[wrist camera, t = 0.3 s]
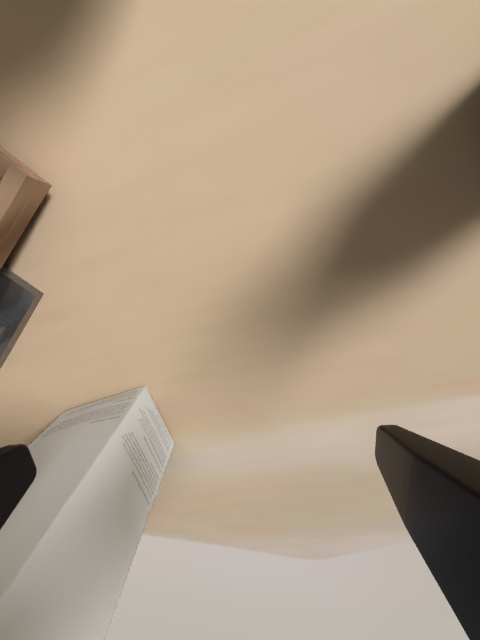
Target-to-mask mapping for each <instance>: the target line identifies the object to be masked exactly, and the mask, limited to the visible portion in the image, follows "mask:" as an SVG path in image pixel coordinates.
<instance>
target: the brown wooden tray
mask: <svg viewBox="0 0 480 640" xmlns="http://www.w3.org/2000/svg"><path fill="white" fill-rule="evenodd" d="M51 186H52V185H50V184H49V183H48V182H46V181H45V180H44V179H42V178H41V177H40V176H38V175H37V174H36V173H34V172H33V171H32V170H31V169H29V168H28V167H27V166H25V165H24V164H23V163H21V162H20V161H19V160H17V159H16V158H15V157H13V156H12V155H11V154H9V153H8V152H7V151H6V150H4V149H3V148H2V147H0V269H1V267H2V266H3V264H4V262H5V261H6V259H7V258H8V256H9V254H10V253H11V251H12V249H13V248H14V246H15V244H16V243H17V241H18V240H19V238H20V236H21V235H22V233H23V231H24V230H25V228H26V226H27V225H28V223H29V222H30V220H31V218H32V217H33V215H34V213H35V212H36V210H37V208H38V207H39V205H40V204H41V202H42V200H43V199H44V197H45V195H46V194H47V192H48V191H49V189H50V187H51Z"/></svg>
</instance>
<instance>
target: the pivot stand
mask: <svg viewBox="0 0 480 640" xmlns="http://www.w3.org/2000/svg"><path fill="white" fill-rule="evenodd" d="M42 295H43V293H42V292H40V291H39V290H37V289H36V288H34V287H33V286H32V285H30V284H29V283H27V282H26V281H24V280H23V279H21V278H20V277H18V276H17V275H16V274H14V273H13V272H11V271H10V270H8V269H7V268H5V267H4V266H2V267H1V269H0V368H1V367H2V365H3V363H4V361H5V360H6V358H7V356H8V354H9V353H10V351H11V349H12V347H13V346H14V344H15V342H16V340H17V339H18V337H19V335H20V333H21V332H22V330H23V328H24V326H25V325H26V323H27V321H28V320H29V318H30V316H31V314H32V313H33V311H34V309H35V307H36V306H37V304H38V302H39V300H40V299H41V297H42Z"/></svg>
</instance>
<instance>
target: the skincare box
mask: <svg viewBox="0 0 480 640" xmlns="http://www.w3.org/2000/svg"><path fill="white" fill-rule="evenodd" d="M173 446H174V441H173V439H172V437H171V435H170V433H169V431H168V429H167V427H166V425H165V423H164V421H163V419H162V417H161V415H160V413H159V411H158V409H157V407H156V405H155V403H154V401H153V399H152V397H151V395H150V393H149V391H148V388H147V387H146V386H143V387H140V388H136V389H133V390H130V391H127V392H123V393H120V394H117V395H114V396H110V397H107V398H104V399H101V400H97V401H94V402H91V403H88V404H85V405H81V406H78V407H75V408H72V409H69V410H66V411H64V412H63V413H62V414H61V415H60V416H59V417H58V418H57V419H56V420H55V421H54V422H53V423H52V424H51V425H50V426H49V427H48V428H47V429H45V430H44V431H43V432H42V433H41V434H40V435H39V436H38V437H37V438H36V439H35V440H34V441H33V442H32V443H31V444H30V445H29V446H28V448H29V450H30V453H31V455H32V458H33V460H34V463H35V465H36V468H37V473H36V477H35V479H34V481H33V483H32V484H31V486H30V487H29V489H28V490H27V492H26V493H25V495H24V496H23V497H22V499H21V500H20V502H19V503H18V505H17V506H16V508H15V509H14V511H13V512H12V514H11V515H10V517H9V518H8V520H7V521H6V523H5V524H4V526H3V527H2V528H1V530H0V640H105V637H106V634H107V631H108V629H109V626H110V623H111V620H112V617H113V614H114V612H115V609H116V606H117V603H118V600H119V598H120V595H121V592H122V589H123V586H124V583H125V581H126V578H127V575H128V572H129V569H130V566H131V564H132V561H133V558H134V555H135V553H136V550H137V547H138V544H139V541H140V539H141V536H142V533H143V530H144V527H145V524H146V522H147V519H148V516H149V513H150V510H151V508H152V505H153V502H154V499H155V496H156V494H157V491H158V488H159V485H160V482H161V479H162V477H163V474H164V471H165V468H166V465H167V462H168V460H169V457H170V454H171V451H172V449H173Z"/></svg>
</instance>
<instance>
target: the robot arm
mask: <svg viewBox="0 0 480 640" xmlns="http://www.w3.org/2000/svg"><path fill="white" fill-rule="evenodd" d="M375 457H376V461H377V465H378V467H379V469H380V471H381V474H382V476H383V478H384V480H385V483H386V485H387V487H388V489H389V492H390V494H391V496H392V498H393V501H394V503H395V505H396V507H397V510H398V512H399V514H400V516H401V518H402V520H403V523H404V525H405V527H406V528H407V530H408V532H409V534H410V536H411V538H412V539H413V541H414V543H415V544H416V546H417V548H418V550H419V552H420V553H421V555H422V557H423V559H424V560H425V562H426V564H427V566H428V567H429V569H430V571H431V573H432V574H433V576H434V578H435V580H436V581H437V583H438V585H439V587H440V588H441V590H442V592H443V593H444V595H445V597H446V599H447V601H448V602H449V604H450V606H451V608H452V609H453V611H454V613H455V615H456V616H457V618H458V620H459V622H460V623H461V625H462V627H463V629H464V631H465V632H466V634H467V636H468V637H469V639H470V640H480V461H479V460H477V459H475V458H472V457H470V456H468V455H465V454H463V453H460V452H458V451H456V450H453V449H451V448H449V447H446V446H444V445H442V444H439V443H437V442H435V441H432V440H430V439H427V438H425V437H423V436H420V435H418V434H416V433H413V432H411V431H409V430H406V429H404V428H401V427H399V426H397V425H381V426H379V427H378V428H377V432H376V446H375ZM36 473H37V468H36V465H35V463H34V460H33V458H32V455H31V453H30V450H29V448H28V447H27V446H26V445H24V444H17V445H8V446H5V447H2V448H0V530H1V528H2V527H3V526H4V524H5V523H6V521H7V520H8V518H9V517H10V515H11V514H12V512H13V511H14V509H15V508H16V506H17V505H18V503H19V502H20V500H21V499H22V497H23V496H24V495H25V493H26V492H27V490H28V489H29V487H30V486H31V484H32V483H33V481H34V479H35V477H36Z"/></svg>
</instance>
